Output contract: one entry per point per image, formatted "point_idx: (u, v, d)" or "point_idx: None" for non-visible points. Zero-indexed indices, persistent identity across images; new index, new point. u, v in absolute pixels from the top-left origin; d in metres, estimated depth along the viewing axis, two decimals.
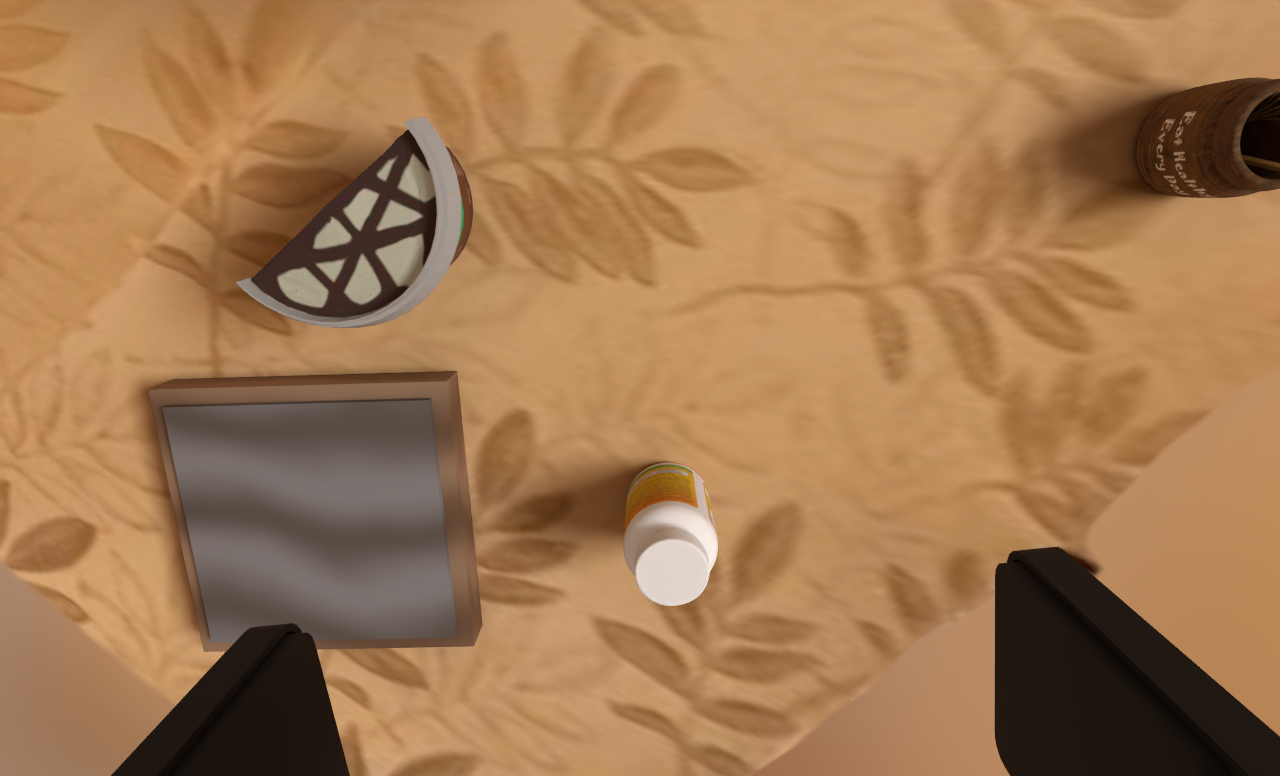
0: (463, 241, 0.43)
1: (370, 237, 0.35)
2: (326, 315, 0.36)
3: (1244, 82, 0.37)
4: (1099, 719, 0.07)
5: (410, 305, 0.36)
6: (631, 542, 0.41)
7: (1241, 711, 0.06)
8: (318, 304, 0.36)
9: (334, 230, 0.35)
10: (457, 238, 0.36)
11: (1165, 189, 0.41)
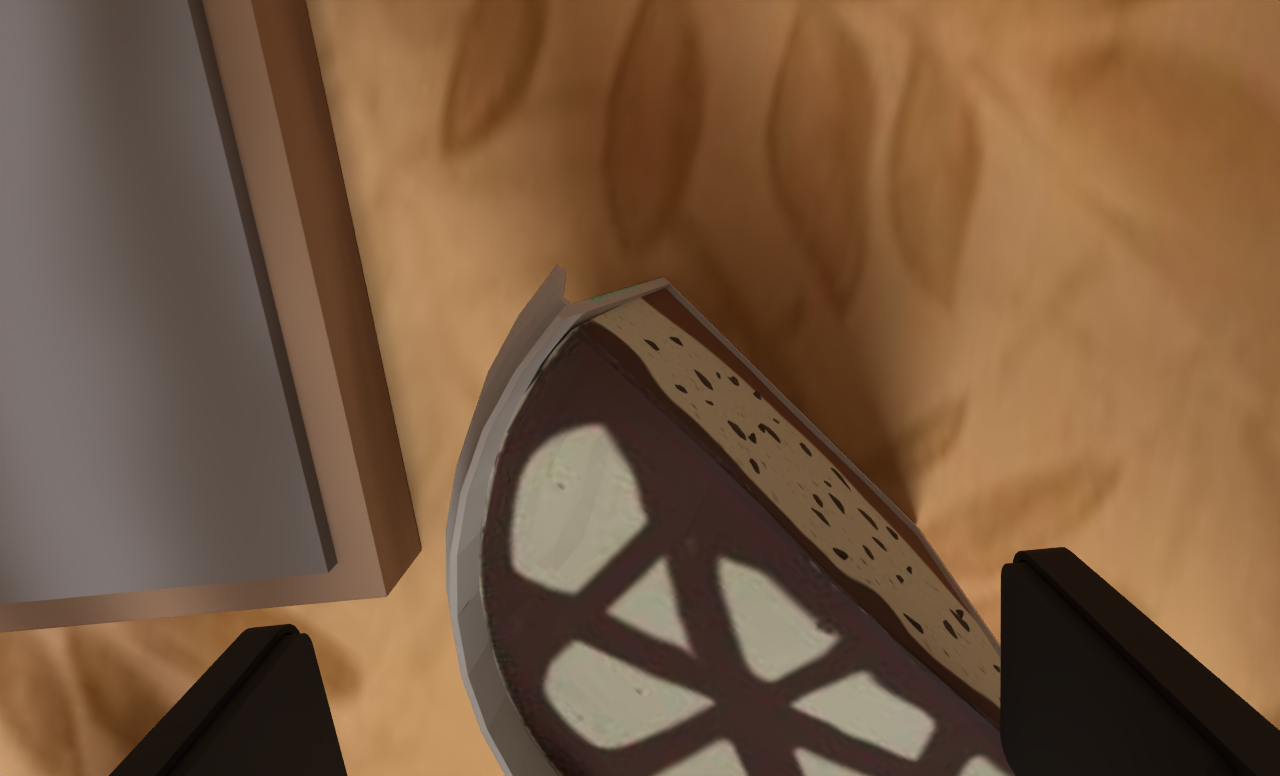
0: None
1: (771, 728, 0.10)
2: (489, 588, 0.10)
3: None
4: (1105, 719, 0.07)
5: None
6: None
7: (1248, 712, 0.06)
8: (522, 558, 0.10)
9: (791, 638, 0.10)
10: None
11: None
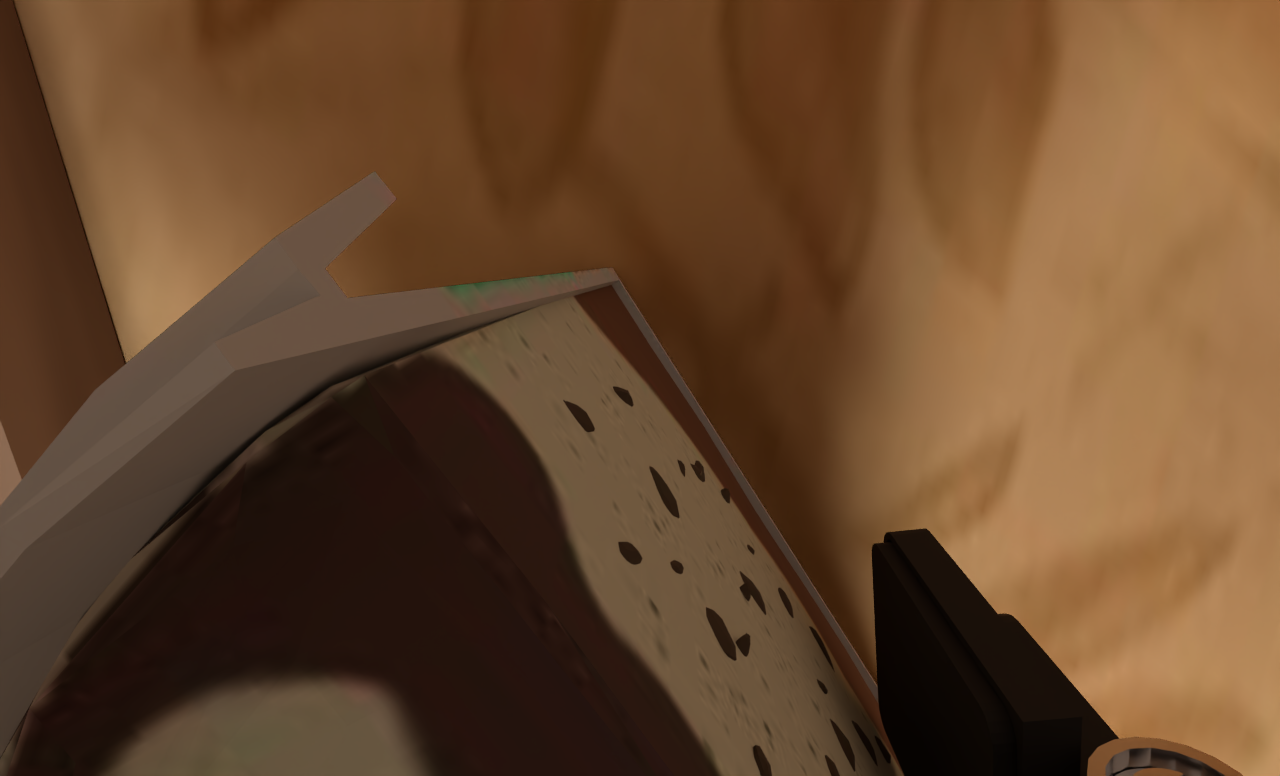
0: None
1: None
2: None
3: None
4: (932, 678, 0.08)
5: None
6: None
7: (1032, 665, 0.07)
8: None
9: None
10: None
11: None
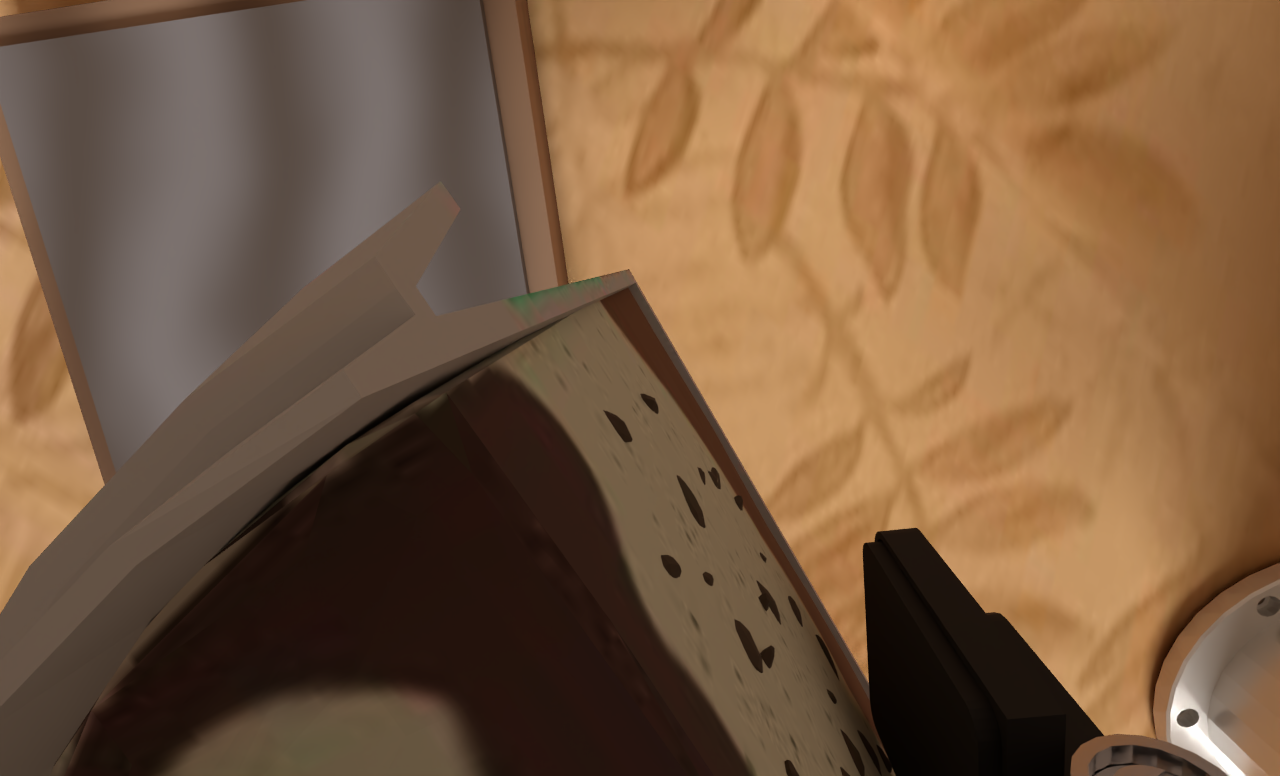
0: None
1: None
2: None
3: None
4: (920, 676, 0.08)
5: None
6: None
7: (1018, 663, 0.07)
8: None
9: None
10: None
11: None
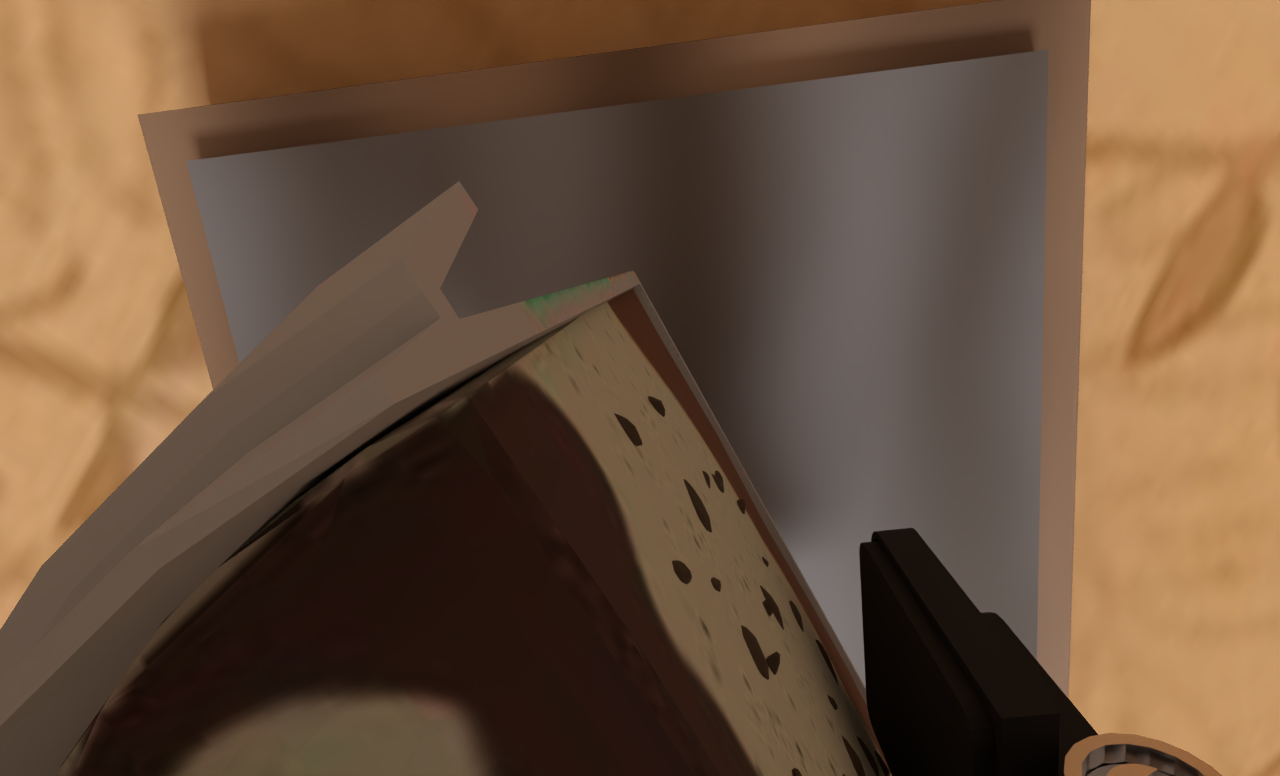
0: None
1: None
2: None
3: None
4: (916, 675, 0.08)
5: None
6: None
7: (1012, 662, 0.07)
8: None
9: None
10: None
11: None
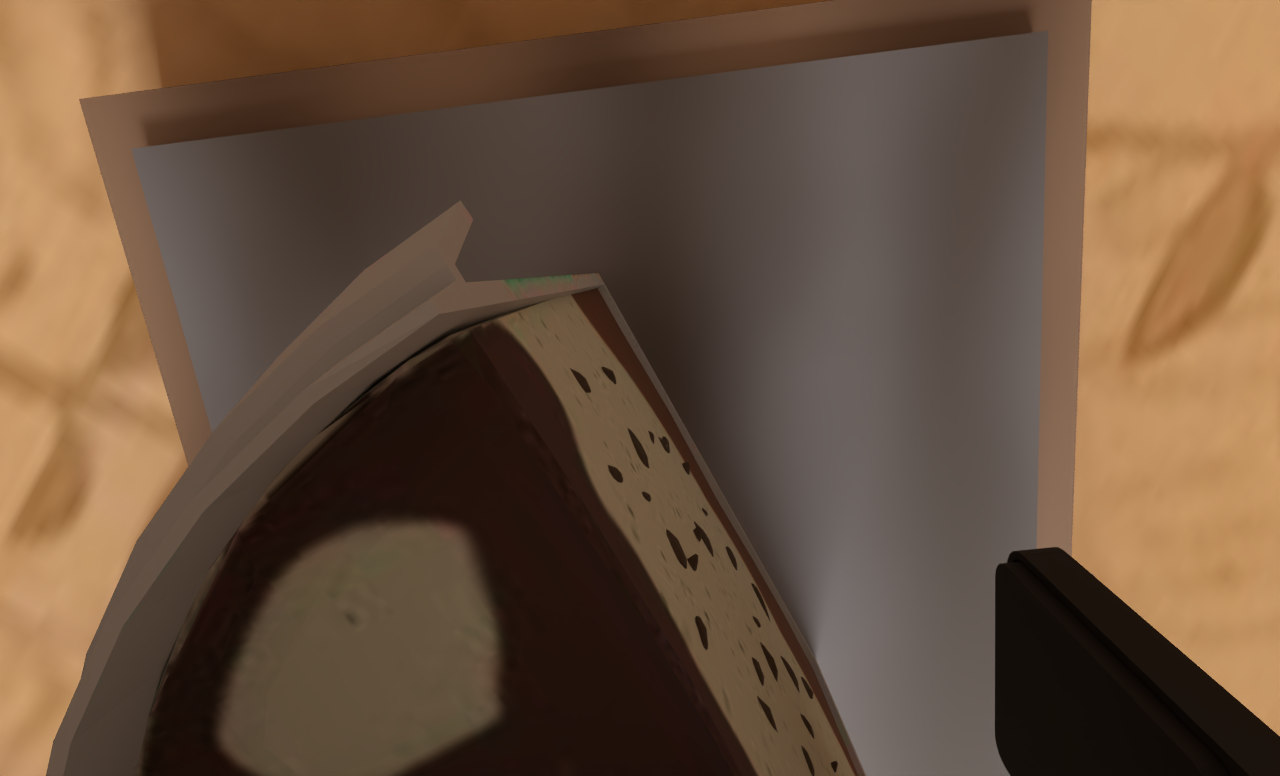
0: None
1: None
2: (159, 771, 0.05)
3: None
4: (1099, 718, 0.07)
5: None
6: None
7: (1240, 710, 0.06)
8: (239, 729, 0.05)
9: None
10: None
11: None
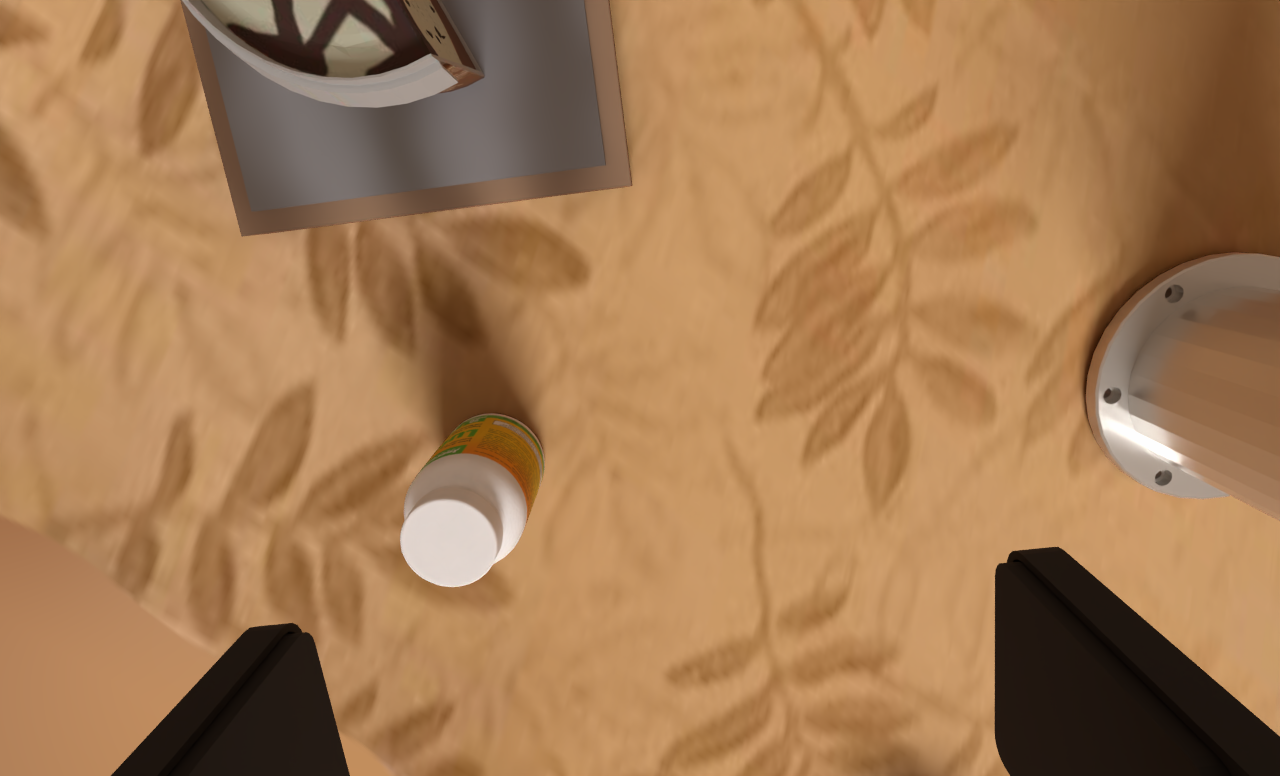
0: None
1: None
2: None
3: None
4: (1099, 718, 0.07)
5: None
6: (469, 472, 0.31)
7: (1241, 710, 0.06)
8: None
9: None
10: (282, 85, 0.24)
11: None
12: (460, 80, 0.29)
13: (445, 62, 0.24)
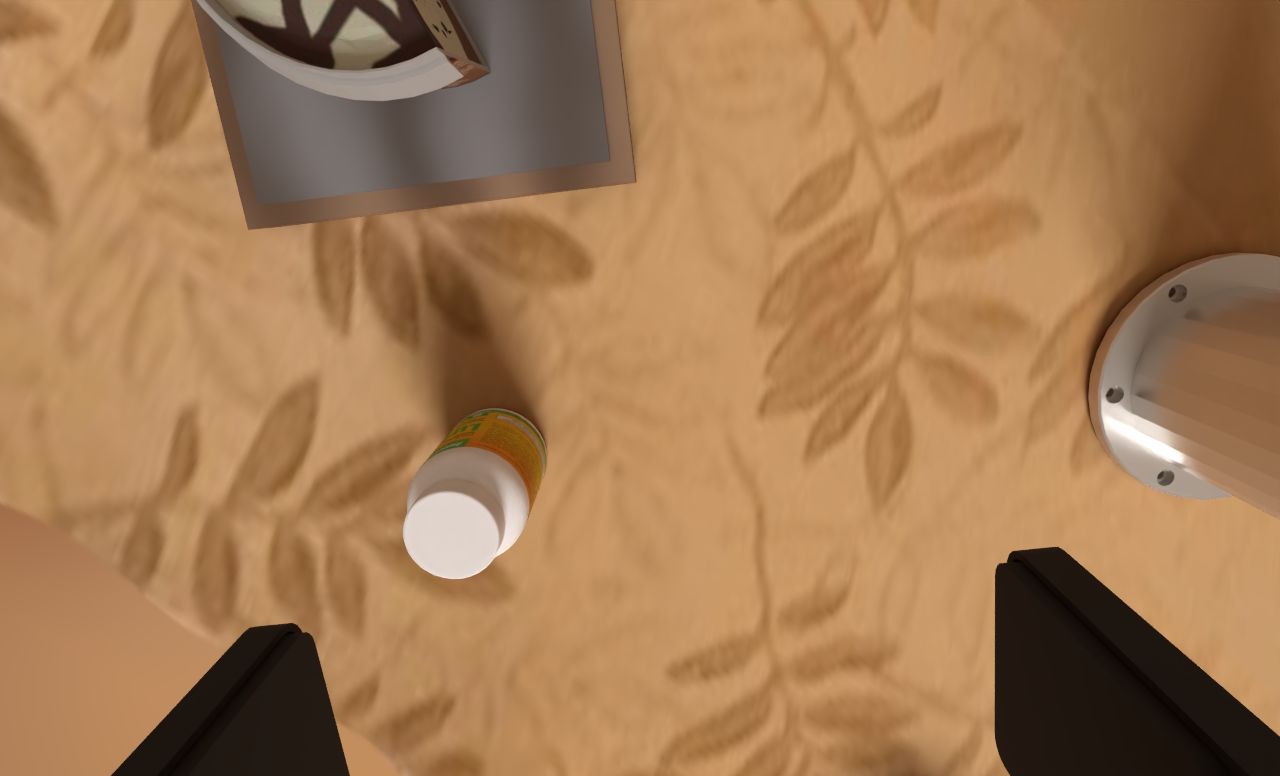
0: None
1: None
2: None
3: None
4: (1099, 718, 0.07)
5: None
6: (472, 465, 0.31)
7: (1241, 711, 0.06)
8: None
9: None
10: (289, 78, 0.24)
11: None
12: (466, 75, 0.29)
13: (451, 56, 0.24)
